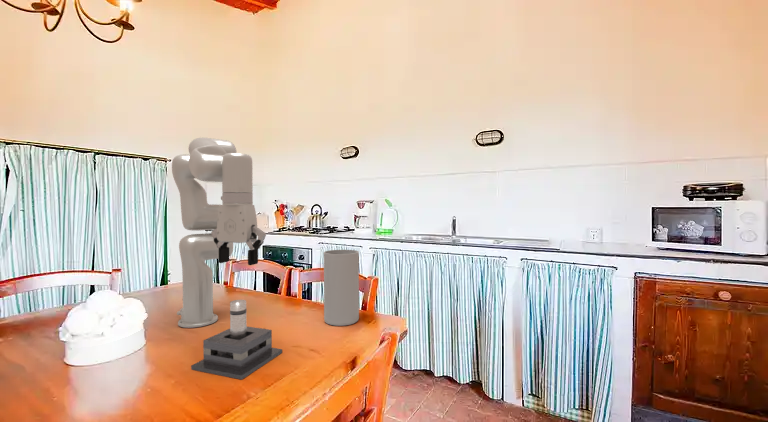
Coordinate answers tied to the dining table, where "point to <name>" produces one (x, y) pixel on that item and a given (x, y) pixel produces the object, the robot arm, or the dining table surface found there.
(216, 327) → the dining table surface
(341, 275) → the cylinder vase
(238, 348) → the collar stand
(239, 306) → the tube
